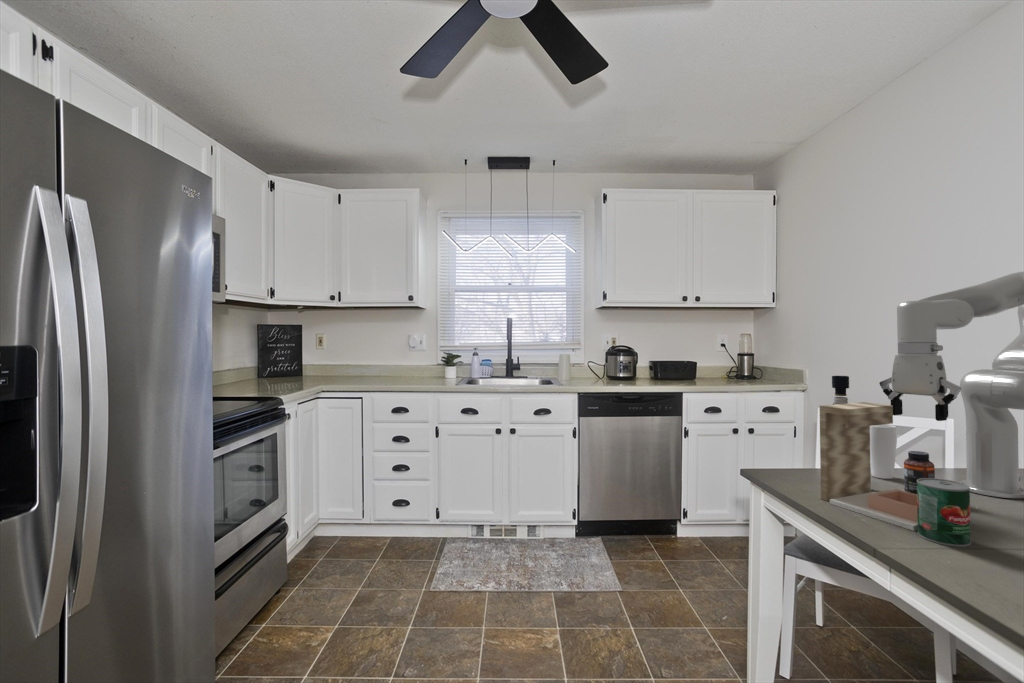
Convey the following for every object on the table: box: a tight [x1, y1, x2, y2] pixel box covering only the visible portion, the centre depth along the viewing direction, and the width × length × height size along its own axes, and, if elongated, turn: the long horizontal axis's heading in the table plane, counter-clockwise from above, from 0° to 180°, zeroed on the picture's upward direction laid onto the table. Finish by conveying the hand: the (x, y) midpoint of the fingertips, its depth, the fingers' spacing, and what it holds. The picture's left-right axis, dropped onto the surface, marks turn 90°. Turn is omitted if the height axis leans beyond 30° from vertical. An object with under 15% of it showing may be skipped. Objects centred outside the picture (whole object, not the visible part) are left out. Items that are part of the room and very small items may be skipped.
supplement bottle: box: [903, 450, 936, 494], centre depth 119 cm, size 6×6×11 cm
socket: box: [829, 488, 918, 532], centre depth 109 cm, size 16×18×4 cm
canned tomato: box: [917, 477, 972, 548], centre depth 94 cm, size 8×8×11 cm
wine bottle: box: [831, 375, 850, 405], centre depth 129 cm, size 6×6×30 cm
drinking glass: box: [870, 424, 898, 480], centre depth 136 cm, size 7×7×15 cm
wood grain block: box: [819, 401, 894, 502], centre depth 118 cm, size 16×7×24 cm, turn 110°
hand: (918, 417), depth 119 cm, fingers open, 9 cm apart
